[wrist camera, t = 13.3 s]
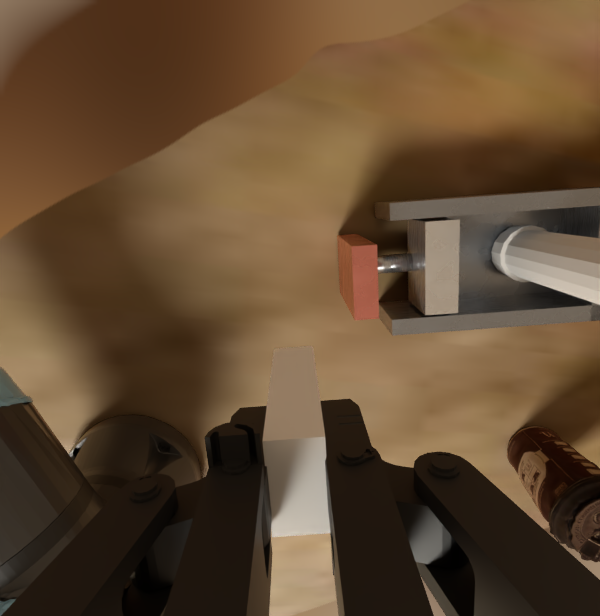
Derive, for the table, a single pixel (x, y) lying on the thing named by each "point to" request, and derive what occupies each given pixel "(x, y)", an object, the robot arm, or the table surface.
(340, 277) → the jaw
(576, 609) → the robot arm
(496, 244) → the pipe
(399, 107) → the table surface
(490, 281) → the grey open box
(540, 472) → the coffee cup
